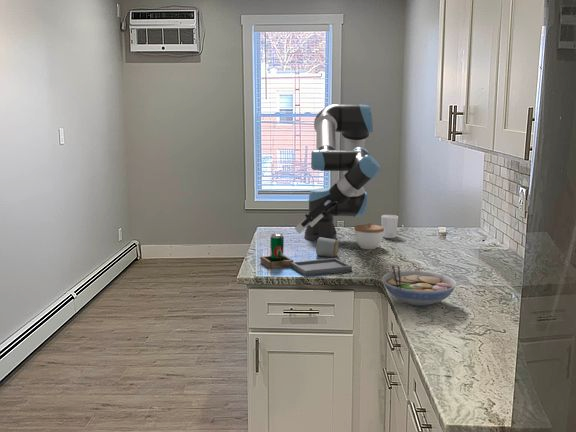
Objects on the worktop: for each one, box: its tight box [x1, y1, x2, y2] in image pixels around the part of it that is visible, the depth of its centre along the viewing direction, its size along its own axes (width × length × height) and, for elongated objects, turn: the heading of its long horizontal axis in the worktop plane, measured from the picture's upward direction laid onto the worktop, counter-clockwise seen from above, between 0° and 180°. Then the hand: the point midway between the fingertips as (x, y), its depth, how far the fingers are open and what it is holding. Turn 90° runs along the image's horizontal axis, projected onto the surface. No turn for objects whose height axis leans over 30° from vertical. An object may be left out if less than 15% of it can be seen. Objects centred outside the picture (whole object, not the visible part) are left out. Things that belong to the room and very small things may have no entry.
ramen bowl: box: [381, 265, 458, 307], centre depth 182 cm, size 25×23×8 cm
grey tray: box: [290, 257, 353, 277], centre depth 220 cm, size 19×13×2 cm
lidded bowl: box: [354, 222, 384, 250], centre depth 256 cm, size 13×13×11 cm
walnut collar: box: [260, 254, 294, 270], centre depth 225 cm, size 10×10×2 cm
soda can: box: [269, 232, 285, 262], centre depth 224 cm, size 5×5×12 cm
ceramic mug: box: [315, 237, 340, 258], centre depth 241 cm, size 11×8×8 cm
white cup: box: [380, 214, 399, 239], centre depth 279 cm, size 8×8×10 cm
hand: (303, 227), depth 219 cm, fingers open, 13 cm apart
